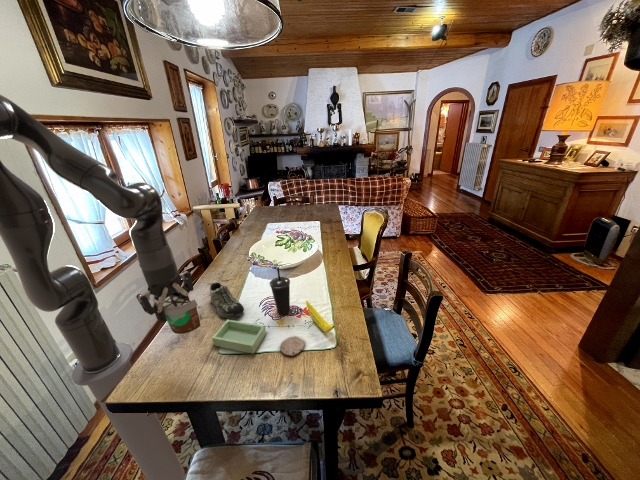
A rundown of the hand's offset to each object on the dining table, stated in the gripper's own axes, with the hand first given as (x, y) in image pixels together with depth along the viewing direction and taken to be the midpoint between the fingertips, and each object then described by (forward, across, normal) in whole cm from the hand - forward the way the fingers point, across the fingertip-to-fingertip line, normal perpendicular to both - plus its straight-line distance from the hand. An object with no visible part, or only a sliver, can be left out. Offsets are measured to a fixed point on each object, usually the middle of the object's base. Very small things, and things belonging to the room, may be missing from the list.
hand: (175, 313), depth 72 cm
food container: (+6, 0, 0) cm, 6 cm away
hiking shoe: (+20, +24, +11) cm, 33 cm away
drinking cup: (+20, +33, -12) cm, 40 cm away
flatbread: (+20, +20, -25) cm, 37 cm away
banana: (+20, +33, -28) cm, 47 cm away
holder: (+20, +14, -7) cm, 25 cm away
